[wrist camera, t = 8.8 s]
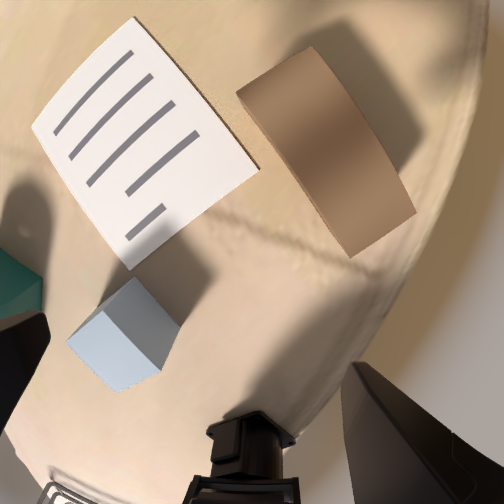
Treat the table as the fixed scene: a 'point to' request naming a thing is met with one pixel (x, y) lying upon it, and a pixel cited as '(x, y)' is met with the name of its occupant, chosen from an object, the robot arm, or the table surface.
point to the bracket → (18, 287)
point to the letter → (138, 144)
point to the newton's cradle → (61, 495)
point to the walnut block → (328, 149)
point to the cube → (125, 337)
